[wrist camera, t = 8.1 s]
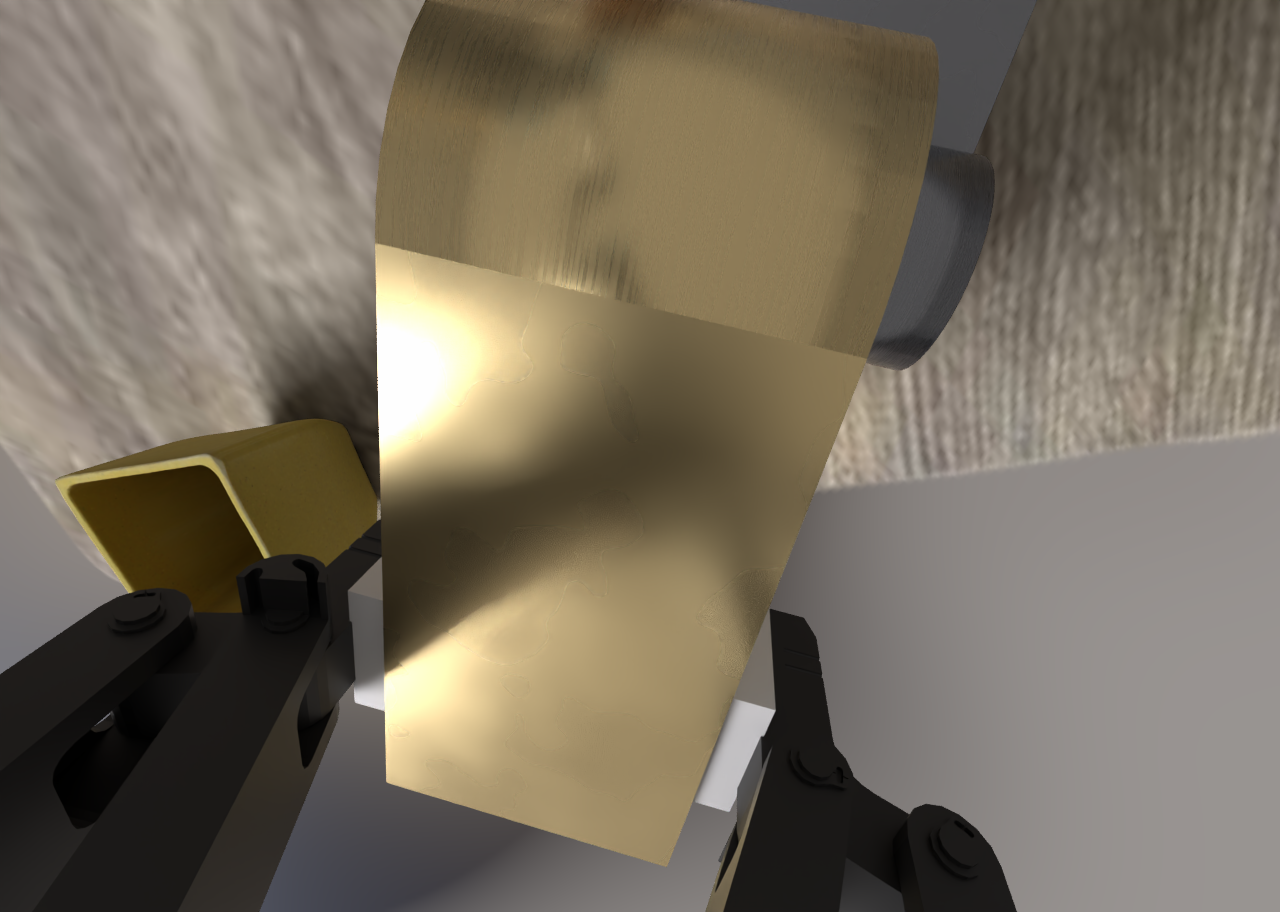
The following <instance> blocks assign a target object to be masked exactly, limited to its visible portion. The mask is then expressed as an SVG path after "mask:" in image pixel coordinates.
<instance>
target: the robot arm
mask: <svg viewBox="0 0 1280 912" xmlns="http://www.w3.org/2000/svg"><path fill="white" fill-rule="evenodd" d="M236 580H237V586H238V591H239V597H240V602H241V608H242V612H241V613H213V612H194V611H193V607H192V603H191V601H190V600H189V598H188V596H187V595H186V594H184V593H182V592H180V591H178V590H175V589H166V588H153V589H145V590H138V591H135V592H132V593H129V594H125V595H122V596H119V597H117V598H115V599H113V600H111V601H109V602H107V603H105V604H104V605H102V606H100V607H98V608H97V609H95V610H94V611H93V612H91V613H90V614H88V615H87V616H85V617H84V618H82V619H81V620H79V621H78V622H76V623H75V624H73V625H72V626H70V627H69V628H68V629H66V630H64V631H63V632H62V633H60V634H59V635H57V636H56V637H54V638H53V639H51V640H50V641H48V642H47V643H45V644H44V645H42V646H41V647H40V648H38V649H37V650H35V651H34V652H32V653H31V654H29V655H28V656H26V657H25V658H23V659H22V660H21V661H19V662H17V663H16V664H15V665H13V666H12V667H10V668H9V669H7V670H6V671H4V672H3V673H1V674H0V912H259V911H260V909H261V906H262V904H263V901H264V899H265V896H266V894H267V892H268V889H269V886H270V884H271V882H272V879H273V877H274V875H275V872H276V870H277V867H278V865H279V862H280V860H281V857H282V855H283V852H284V850H285V848H286V845H287V843H288V840H289V838H290V836H291V833H292V830H293V828H294V826H295V823H296V821H297V818H298V816H299V813H300V811H301V809H302V806H303V804H304V801H305V799H306V796H307V794H308V791H309V789H310V787H311V784H312V782H313V779H314V777H315V774H316V772H317V770H318V767H319V765H320V762H321V759H322V757H323V755H324V752H325V750H326V748H327V745H328V743H329V740H330V738H331V735H332V733H333V730H334V728H335V726H336V723H337V720H338V715H339V700H340V698H341V697H342V696H343V694H344V693H345V692H346V691H347V689H348V688H349V687H350V686H351V685H352V683H353V682H354V696H355V702H356V703H359V704H362V705H366V706H369V707H373V708H376V709H380V710H383V711H385V686H384V638H383V590H382V543H381V520H378V521H377V522H376V523H375V524H373V525H372V526H371V527H370V528H369V529H368V530H367V531H366V532H365V533H363V534H362V537H361V538H358V539H357V540H356V541H355V542H353V543H352V544H351V545H350V546H349V549H348V550H347V549H346V550H344V551H343V552H342V553H341V554H340V555H339V556H338V557H337V558H336V559H334V560H333V561H332V562H331V563H330V564H329V565H328V566H327V567H325V565H324V563H322V562H321V561H319V560H318V559H316V558H314V557H311V556H307V555H302V554H281V555H277V556H273V557H269V558H265V559H262V560H260V561H258V562H256V563H254V564H252V565H249V566H247V567H246V568H245V569H244V570H243V571H242V572H240V573H239V574H238V575H237V576H236ZM109 713H110V715H109V716H108V717H107V718H106V719H104V720H103V721H102V722H100V723H99V724H97V723H98V722H99V721H101V720H102V719H103V718H104V717H105V716H106V715H107V714H109ZM96 724H97V725H96ZM95 725H96V726H95ZM736 796H737V822H736V824H735V826H734V828H733V831H732V833H731V835H730V837H729V839H728V841H727V843H726V845H725V848H724V850H723V852H722V854H721V856H720V858H719V862H721V865H720V868H719V871H718V874H717V877H716V880H715V884H714V887H713V890H712V893H711V896H710V899H709V902H708V905H707V908H706V911H705V912H1017V911H1016V908H1015V905H1014V902H1013V900H1012V896H1011V893H1010V891H1009V888H1008V885H1007V882H1006V879H1005V876H1004V873H1003V870H1002V867H1001V865H1000V863H999V861H998V859H997V857H996V855H995V854H994V851H993V849H992V847H991V846H990V845H989V843H988V842H987V841H986V840H985V839H984V838H983V836H982V835H981V834H980V832H979V831H978V830H977V829H976V828H975V827H974V826H972V825H971V824H970V823H969V822H967V821H966V820H965V819H964V818H963V817H961V816H960V815H959V814H956V813H955V812H952V811H950V810H948V809H946V808H944V807H942V806H936V805H930V804H924V805H922V806H919V807H917V808H914V809H913V810H912V812H911V814H910V815H909V814H908V813H906V812H904V811H903V810H901V809H899V808H898V807H896V806H894V805H893V804H891V803H889V802H888V801H886V800H884V799H882V798H881V797H879V796H877V795H876V794H874V793H873V792H871V791H870V790H869V789H867V788H866V787H864V786H863V785H861V783H860V782H859V781H857V780H856V779H855V778H854V777H853V773H852V771H851V769H850V767H849V765H848V763H847V761H846V759H845V758H844V756H843V755H842V754H841V753H840V752H839V750H838V749H837V748H836V747H835V746H834V742H833V738H832V731H831V726H830V719H829V713H828V707H827V701H826V695H825V688H824V682H823V678H822V670H821V664H820V661H819V652H818V645H817V639H816V636H815V635H814V633H813V632H812V630H811V628H810V627H809V625H808V624H807V622H806V621H805V619H804V618H803V617H799V616H795V615H791V614H787V613H784V612H780V611H776V610H773V609H768V611H767V614H766V616H765V619H764V622H763V624H762V627H761V629H760V632H759V634H758V637H757V639H756V642H755V644H754V647H753V649H752V652H751V655H750V657H749V660H748V662H747V665H746V667H745V670H744V672H743V675H742V677H741V680H740V682H739V685H738V687H737V690H736V693H735V695H734V698H733V700H732V703H731V705H730V708H729V710H728V713H727V715H726V718H725V720H724V723H723V726H722V728H721V731H720V733H719V736H718V738H717V741H716V743H715V746H714V748H713V751H712V753H711V756H710V759H709V761H708V764H707V766H706V769H705V771H704V774H703V776H702V779H701V781H700V784H699V786H698V789H697V791H696V794H695V797H694V799H693V802H697V803H700V804H704V805H707V806H710V807H714V808H717V809H721V810H724V811H727V812H729V811H730V809H731V807H732V805H733V803H734V801H735V799H736Z"/></svg>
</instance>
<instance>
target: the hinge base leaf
mask: <svg viewBox="0 0 1280 912" xmlns="http://www.w3.org/2000/svg"><path fill="white" fill-rule="evenodd" d="M742 1H747V2H752V3H757V4H762V5H767V6H772V7H777V8H782V9H787V10H792V11H798V12H803V13H808V14H813V15H818V16H823V17H828V18H833V19H838V20H843V21H848V22H854V23H859V24H864V25H869V26H874V27H879V28H884V29H889V30H894V31H899V32H904V33H910V34H915V35H920V36H925V37H929V38H930V39H931V40H932V41H933V42H934V43H935V47H936V50H937V54H938V63H939V85H938V99H937V108H936V115H935V121H934V128H933V135H932V141H931V145H930V150H929V155H928V160H927V165H926V169H925V174H924V179H923V183H922V187H921V191H920V195H919V199H918V203H917V207H916V211H915V214H914V218H913V222H912V226H911V229H910V233H909V236H908V239H907V243H906V246H905V250H904V253H903V256H902V260H901V263H900V267H899V270H898V273H897V276H896V279H895V282H894V285H893V288H892V291H891V294H890V297H889V300H888V303H887V306H886V309H885V312H884V315H883V318H882V320H881V323H880V326H879V328H878V331H877V334H876V336H875V339H874V342H873V344H872V347H871V350H870V352H869V355H868V358H867V360H866V363H867V364H872V365H876V366H880V367H884V368H889V369H893V370H903V369H906V368H908V367H910V366H911V365H913V364H914V363H915V362H916V361H918V360H919V359H920V358H921V357H922V356H923V355H924V354H925V353H926V352H927V351H928V349H929V348H930V347H931V346H932V344H933V343H934V342H935V341H936V339H937V338H938V336H939V335H940V333H941V332H942V331H943V329H944V327H945V326H946V324H947V323H948V321H949V319H950V318H951V316H952V314H953V312H954V311H955V309H956V307H957V305H958V303H959V301H960V299H961V297H962V295H963V293H964V291H965V289H966V287H967V285H968V282H969V280H970V278H971V275H972V273H973V271H974V268H975V266H976V263H977V260H978V258H979V255H980V252H981V249H982V246H983V243H984V240H985V236H986V233H987V229H988V225H989V221H990V217H991V211H992V206H993V199H994V185H995V179H994V170H993V167H992V164H991V162H990V161H989V159H988V158H987V157H985V156H983V155H978V154H973V153H974V151H975V148H976V146H977V144H978V141H979V139H980V136H981V134H982V131H983V129H984V127H985V124H986V122H987V119H988V117H989V115H990V112H991V110H992V107H993V105H994V103H995V100H996V98H997V95H998V93H999V91H1000V88H1001V86H1002V83H1003V81H1004V79H1005V76H1006V74H1007V71H1008V69H1009V67H1010V64H1011V62H1012V59H1013V57H1014V54H1015V52H1016V50H1017V47H1018V45H1019V42H1020V40H1021V38H1022V35H1023V33H1024V30H1025V28H1026V26H1027V23H1028V21H1029V18H1030V16H1031V14H1032V11H1033V9H1034V6H1035V4H1036V2H1037V0H742Z"/></svg>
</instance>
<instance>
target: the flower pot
mask: <svg viewBox="0 0 1280 912" xmlns="http://www.w3.org/2000/svg"><path fill="white" fill-rule="evenodd" d="M55 483H56V485H57V487H58V489H59V491H60V492H61V494H62V496H63V498H64V499H65V501H66V503H67V504H68V506H69V507H70V509H71V510H72V512H73V514H74V515H75V517H76V518H77V520H78V521H79V523H80V524H81V526H82V527H83V528H84V530H85V531H86V533H87V534H88V536H89V537H90V539H91V540H92V542H93V543H94V544H95V546H96V547H97V549H98V550H99V551H100V553H101V554H102V556H103V557H104V559H105V560H106V561H107V563H108V564H109V566H110V567H111V569H112V570H113V571H114V573H115V574H116V575H117V577H118V578H119V580H120V581H121V583H122V584H123V586H124V587H125V588H126V590H127V591H128V593H132V592H135V591H138V590H145V589H153V588H166V589H175V590H178V591H180V592H182V593H184V594H186V595H187V596H188V598H189V600H190V601H191V603H192V607H193V611H194V612H213V613H241V612H242V608H241V602H240V597H239V591H238V586H237V580H236V576H237V575H238V574H239V573H240V572H242V571H243V570H244V569H245V568H246V567H247V566H249V565H252V564H254V563H256V562H258V561H260V560H262V559H265V558H269V557H273V556H277V555H281V554H302V555H307V556H311V557H314V558H316V559H318V560H319V561H321V562H322V563H324V565H325V567H327V566H328V565H329V564H330V563H331V562H332V561H333V560H334V559H336V558H337V557H338V556H339V555H340V554H341V553H342V552H343V551H344V550H346V549H347V550H348V549H349V546H350V545H351V544H352V543H353V542H355V541H356V540H357V539H358V538H361V537H362V534H363V533H365V532H366V531H367V530H368V529H369V528H370V527H371V526H372V525H373V524H375V523H376V522H377V497H376V495H375V493H374V490H373V488H372V486H371V484H370V482H369V479H368V477H367V475H366V473H365V471H364V469H363V466H362V464H361V462H360V459H359V457H358V455H357V452H356V450H355V448H354V446H353V443H352V441H351V438H350V436H349V434H348V432H347V430H346V428H345V427H344V426H343V425H342V424H341V423H338V422H335V421H331V420H325V419H304V420H297V421H291V422H286V423H281V424H275V425H270V426H264V427H258V428H252V429H246V430H240V431H234V432H228V433H221V434H213V435H206V436H200V437H194V438H189V439H185V440H180V441H176V442H172V443H169V444H165V445H162V446H158V447H155V448H152V449H149V450H145V451H142V452H139V453H136V454H133V455H129V456H126V457H123V458H120V459H116V460H113V461H110V462H106V463H103V464H100V465H97V466H94V467H90V468H87V469H84V470H80V471H77V472H74V473H71V474H68V475H65V476H61V477H59V478H58V479H56V480H55Z"/></svg>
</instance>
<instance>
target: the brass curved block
mask: <svg viewBox="0 0 1280 912" xmlns="http://www.w3.org/2000/svg"><path fill="white" fill-rule="evenodd" d="M938 85H939V63H938V54H937V50H936V47H935V43H934V42H933V41H932V40H931V39H930V38H929V37H925V36H920V35H915V34H910V33H904V32H899V31H894V30H889V29H884V28H879V27H874V26H869V25H864V24H859V23H854V22H848V21H843V20H838V19H833V18H828V17H823V16H818V15H813V14H808V13H803V12H798V11H792V10H787V9H782V8H777V7H772V6H767V5H762V4H757V3H752V2H747V1H742V0H425V3H424V5H423V7H422V9H421V11H420V13H419V15H418V17H417V19H416V21H415V23H414V25H413V27H412V29H411V32H410V34H409V37H408V40H407V43H406V46H405V49H404V51H403V54H402V57H401V60H400V63H399V66H398V69H397V73H396V77H395V81H394V85H393V89H392V93H391V97H390V101H389V105H388V109H387V114H386V121H385V127H384V133H383V139H382V145H381V151H380V159H379V170H378V182H377V193H376V225H375V257H376V304H377V352H378V400H379V447H380V495H381V543H382V590H383V638H384V686H385V730H386V731H385V733H386V778H387V779H386V781H387V783H390V784H393V785H397V786H400V787H403V788H406V789H410V790H413V791H417V792H420V793H423V794H426V795H430V796H433V797H436V798H440V799H443V800H446V801H450V802H453V803H456V804H460V805H463V806H466V807H470V808H473V809H477V810H479V811H483V812H486V813H489V814H493V815H496V816H499V817H503V818H506V819H510V820H513V821H516V822H519V823H523V824H526V825H529V826H532V827H536V828H539V829H542V830H546V831H550V832H552V833H556V834H559V835H562V836H566V837H569V838H572V839H576V840H579V841H582V842H586V843H589V844H592V845H595V846H599V847H602V848H606V849H609V850H612V851H615V852H619V853H622V854H625V855H629V856H632V857H635V858H639V859H642V860H645V861H649V862H652V863H655V864H658V865H662V866H665V867H667V865H668V862H669V860H670V857H671V855H672V852H673V850H674V847H675V845H676V842H677V840H678V837H679V835H680V832H681V829H682V827H683V824H684V822H685V819H686V817H687V814H688V811H689V809H690V807H691V804H692V802H693V799H694V797H695V794H696V791H697V789H698V786H699V784H700V781H701V779H702V776H703V774H704V771H705V769H706V766H707V764H708V761H709V759H710V756H711V753H712V751H713V748H714V746H715V743H716V741H717V738H718V736H719V733H720V731H721V728H722V726H723V723H724V720H725V718H726V715H727V713H728V710H729V708H730V705H731V703H732V700H733V698H734V695H735V693H736V690H737V687H738V685H739V682H740V680H741V677H742V675H743V672H744V670H745V667H746V665H747V662H748V660H749V657H750V655H751V652H752V649H753V647H754V644H755V642H756V639H757V637H758V634H759V632H760V629H761V627H762V624H763V622H764V619H765V616H766V614H767V611H768V609H769V606H770V604H771V601H772V599H773V596H774V594H775V591H776V588H777V586H778V583H779V581H780V578H781V576H782V573H783V571H784V568H785V566H786V563H787V561H788V558H789V556H790V553H791V551H792V548H793V545H794V543H795V540H796V538H797V535H798V533H799V530H800V528H801V525H802V522H803V520H804V517H805V515H806V512H807V510H808V507H809V505H810V502H811V500H812V497H813V495H814V492H815V490H816V487H817V485H818V482H819V480H820V477H821V474H822V472H823V469H824V467H825V464H826V462H827V459H828V457H829V454H830V452H831V449H832V447H833V444H834V441H835V439H836V436H837V434H838V431H839V429H840V426H841V424H842V421H843V419H844V416H845V414H846V411H847V409H848V406H849V403H850V401H851V398H852V396H853V393H854V391H855V388H856V386H857V383H858V381H859V378H860V376H861V373H862V370H863V368H864V365H865V363H866V360H867V358H868V355H869V352H870V350H871V347H872V344H873V342H874V339H875V336H876V334H877V331H878V328H879V326H880V323H881V320H882V318H883V315H884V312H885V309H886V306H887V303H888V300H889V297H890V294H891V291H892V288H893V285H894V282H895V279H896V276H897V273H898V270H899V267H900V263H901V260H902V256H903V253H904V250H905V246H906V243H907V239H908V236H909V233H910V229H911V226H912V222H913V218H914V214H915V211H916V207H917V203H918V199H919V195H920V191H921V187H922V183H923V179H924V174H925V169H926V165H927V160H928V155H929V150H930V145H931V141H932V135H933V128H934V121H935V115H936V108H937V99H938Z"/></svg>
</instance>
